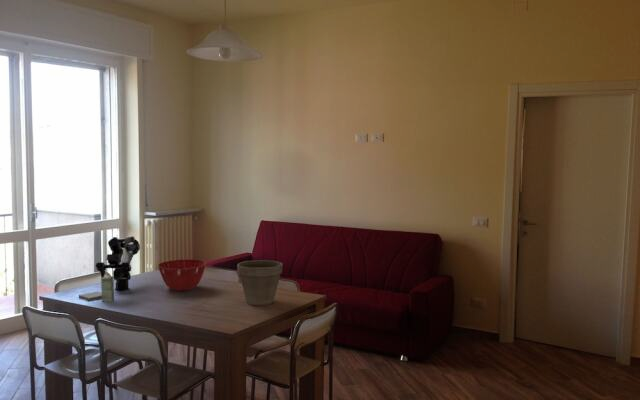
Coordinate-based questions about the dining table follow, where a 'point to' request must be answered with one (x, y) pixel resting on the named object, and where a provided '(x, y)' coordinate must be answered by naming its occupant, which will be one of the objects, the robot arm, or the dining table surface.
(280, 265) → the plant pot
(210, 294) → the dining table surface
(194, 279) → the mixing bowl
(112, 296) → the green post
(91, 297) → the base board
